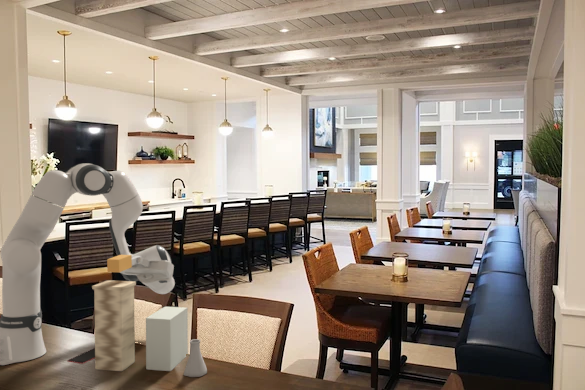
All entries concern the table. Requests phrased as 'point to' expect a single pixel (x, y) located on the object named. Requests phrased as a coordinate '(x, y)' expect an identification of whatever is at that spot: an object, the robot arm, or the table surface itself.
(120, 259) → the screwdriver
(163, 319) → the pale green block
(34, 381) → the table surface
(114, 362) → the high stand
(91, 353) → the smartphone
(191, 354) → the flask
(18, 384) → the table surface
